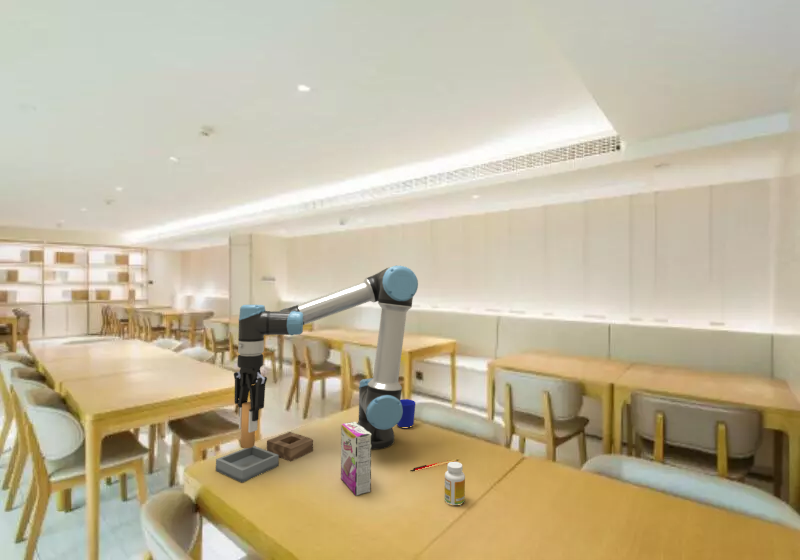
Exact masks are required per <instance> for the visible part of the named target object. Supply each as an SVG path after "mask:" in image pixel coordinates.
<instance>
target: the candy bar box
mask: <svg viewBox="0 0 800 560" xmlns="http://www.w3.org/2000/svg"><path fill="white" fill-rule="evenodd" d="M340 435H341V439H340V440H341V441H340V445H341V446H340V447H341V449H340V450H341V451H340V479H341V481H342V482H343V483H344V484H345V485H346V486H347V488H349V489H350V491H351V492H352V493H353V495H354V496H355V497H358V496H361V495H363V494H368V493H370V492H372V490H371V489H372V488H371V487H372V449H371V436H372V434H371V433H370V432H368V431H367V430H366V429H365V428H363V427H362V426H361V425H359V424H358V422H357V421H351V422H345V423H341V432H340Z"/></svg>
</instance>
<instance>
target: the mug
mask: <svg viewBox="0 0 800 560" xmlns="http://www.w3.org/2000/svg"><path fill="white" fill-rule="evenodd" d="M400 402H401V404H402V409H403V413H402V417H401V419H400V421H399V422H398V424H396V425H397V427H398V426H399V427H398V428H400V427H410V426H412V425H413V426H414V421H415V413H416V412H415V411H416V401H415V400H412V399H408V398H405V399H400ZM413 426H412V427H413Z"/></svg>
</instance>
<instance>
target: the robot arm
mask: <svg viewBox="0 0 800 560" xmlns="http://www.w3.org/2000/svg"><path fill="white" fill-rule="evenodd" d="M418 288H419V280H418V278H417V275H416V273H415V272H414V271H413V270H412V269H411V268H409V267H407V266H404V265H393V266H391V267H386V268H385V269H383V270H381V271H379V272H377V273H375V274H373V275H371V276H368V277H365V278H364V279H363V281H362V282H359V283H356V284H353V285H350V286H347V287H345V288H341V289H339V290H337V291H336V290H335V291H334V292H331V293H330V292H329V293H328V294H324V295H321V296H319V297H315V298H313V299H310V300H307V301H304V302H302V303H301V302H300V304H296V305H293V306H290V307H287V308H283V309H281V310H279V311H276V310H275V311H274V310H273V311H272V310H271V311H270V310H269V311H268V310H266V307H265V305H263V304H243V305H241V306H240V308H239V317H238V337H237V338H238V342H237V343H238V345H237V348H238V349H237V353H238V356H237V362H236V363H237V365H236V366H237V367H238V368H239V370H238V371H236V372H233V377H234V405H237V406H238V417H239V420H238V422H239V423H238V429H239V430H241V423H242V404H243V403H245V402H250V404H251V409H250V410H249V426H248V432H249V433H250V432H253V431H255V432H256V431H258V425H259V424H258V420H259V417H260V416H259V415H260V413H259V412H260V410H261V409H264V407H265V395H266V394H265V393H266V384H267V380H268V378H267V376H263V375H262V373H261V368H262V367H263V365H264V354H263V353H264V349H265V348H264V347H265V338H264V337H265V336H272V335H274V336H297V335H298V336H299V335H300V336H301V335H302V334H303V331H304V325H307V324H309V323H314V322H315V321H318V320H322V319H325V318H327V317H329V316H333V315H335V314H338V313H341V312H344V311H346V310H349V309H352V308H355V307H358V306H360V305H363V304H366V303H369V302H371V303H376V302H377V304H378V305H379V307H381V308H380V309H381V310H380V311H381V312H380V313H381V314H380V321H379V329H378V337H377V345H376V352H375V359H374V360H375V361H374V367H373V374H372V375H373V377H370V378H363V379H361V380H360V381H359V386H358V420H357V421H358V422H357V423H358V424H359V425H361V426H362V427H363V428H365V429H366V430H367V431H368V432H370V433H371V434H372V436H371V450H383V449H386V448H390V447H391V446H392V445H394V443H395V433H394V430H393V427H395V426H396V425H397V424H398V422H399V421H400V419H401V417H402V413H403V409H402V404H401V402H400V400H402V399H401V396H402V389H403V387H402V385H401V384H400V383H399V378H400V377H399V376H400V369H401V359H402V355H403V354H402V352H403V344H404V336H405V328H406V321H407V320H406V319H407V312H408V311H409V310H411V308H412V306H413V299H414V296H415V295H416V293H417V291H418ZM248 400H249V401H248Z"/></svg>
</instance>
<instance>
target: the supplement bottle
mask: <svg viewBox="0 0 800 560" xmlns="http://www.w3.org/2000/svg"><path fill="white" fill-rule="evenodd" d="M446 466H447V467H446V468H447V470H446V471H445V472H444V498H443V499H444V502H445V501H446V502H447V503H449V504H452V505H458V504H461V503H463V502H464V501H465V499H466V497H465V496H466V495H465V494H466V491H465V489H466V484H465V483H466V475H465V473H464V472H463V464H462V463H461V462H458V461H454V462H449V463H447V465H446ZM446 502H445V503H446ZM447 503H446V504H447ZM464 503H465V502H464ZM449 504H448V505H449Z"/></svg>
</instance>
